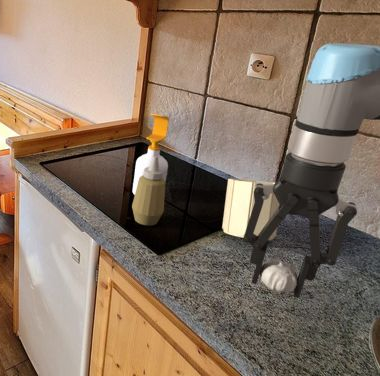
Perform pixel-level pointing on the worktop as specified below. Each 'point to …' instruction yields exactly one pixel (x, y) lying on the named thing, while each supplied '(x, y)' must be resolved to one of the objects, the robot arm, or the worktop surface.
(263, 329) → the worktop surface
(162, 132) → the soap bottle
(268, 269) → the garlic
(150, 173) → the squeeze bottle
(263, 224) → the bin
